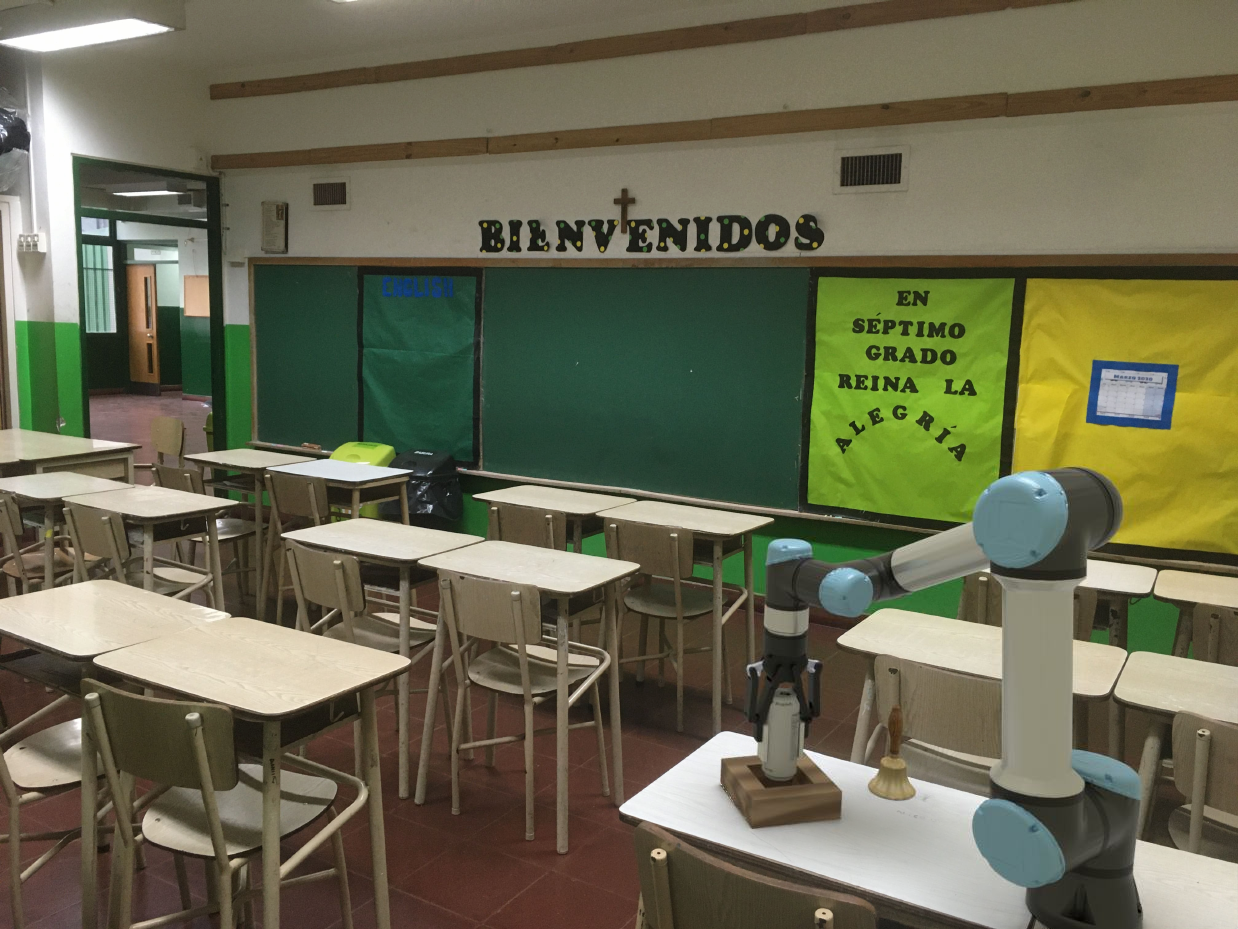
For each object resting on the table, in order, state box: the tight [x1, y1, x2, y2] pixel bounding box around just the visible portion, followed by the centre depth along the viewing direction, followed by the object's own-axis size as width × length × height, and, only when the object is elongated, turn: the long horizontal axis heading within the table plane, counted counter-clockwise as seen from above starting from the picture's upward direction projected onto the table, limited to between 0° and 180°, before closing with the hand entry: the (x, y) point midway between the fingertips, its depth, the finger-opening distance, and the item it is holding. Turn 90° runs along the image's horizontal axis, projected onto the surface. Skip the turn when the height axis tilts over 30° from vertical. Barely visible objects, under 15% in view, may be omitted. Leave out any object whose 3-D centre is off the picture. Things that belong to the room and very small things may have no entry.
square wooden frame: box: [719, 751, 843, 829], centre depth 170 cm, size 16×16×5 cm
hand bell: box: [867, 704, 917, 801], centre depth 175 cm, size 8×8×16 cm
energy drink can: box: [762, 687, 800, 781], centre depth 169 cm, size 6×6×15 cm
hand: (780, 756), depth 170 cm, fingers closed on energy drink can, 6 cm apart
